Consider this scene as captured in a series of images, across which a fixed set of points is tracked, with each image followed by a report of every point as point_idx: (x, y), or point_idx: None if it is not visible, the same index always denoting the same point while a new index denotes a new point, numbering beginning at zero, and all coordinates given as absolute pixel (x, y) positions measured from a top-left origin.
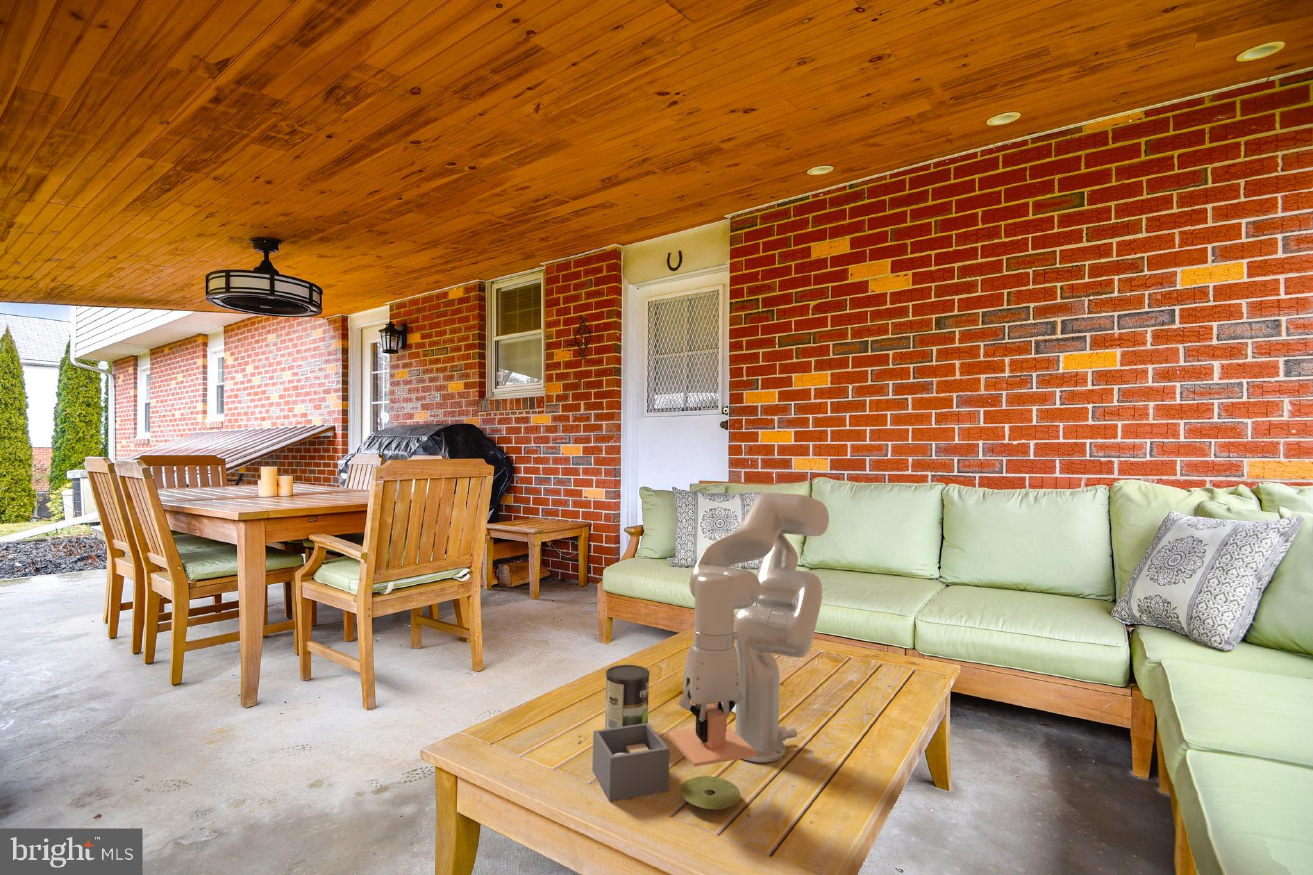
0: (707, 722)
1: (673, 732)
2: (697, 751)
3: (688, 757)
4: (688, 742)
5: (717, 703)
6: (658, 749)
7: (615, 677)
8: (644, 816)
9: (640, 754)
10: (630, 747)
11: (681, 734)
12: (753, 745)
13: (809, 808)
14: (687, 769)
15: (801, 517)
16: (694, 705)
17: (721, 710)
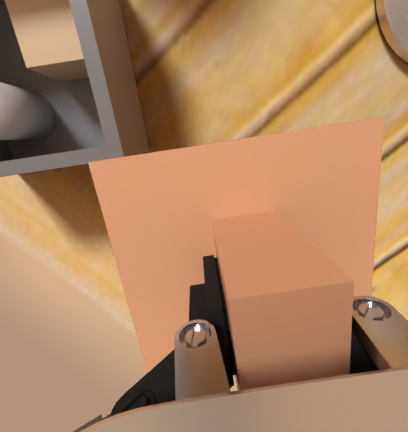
0: (235, 374)
1: (119, 172)
2: (179, 323)
3: (141, 347)
4: (163, 263)
5: (376, 355)
6: (84, 156)
7: None
8: (88, 230)
9: (21, 173)
10: (18, 3)
11: (150, 197)
12: None
13: (395, 257)
14: (218, 59)
15: None
16: (176, 384)
17: (360, 362)
